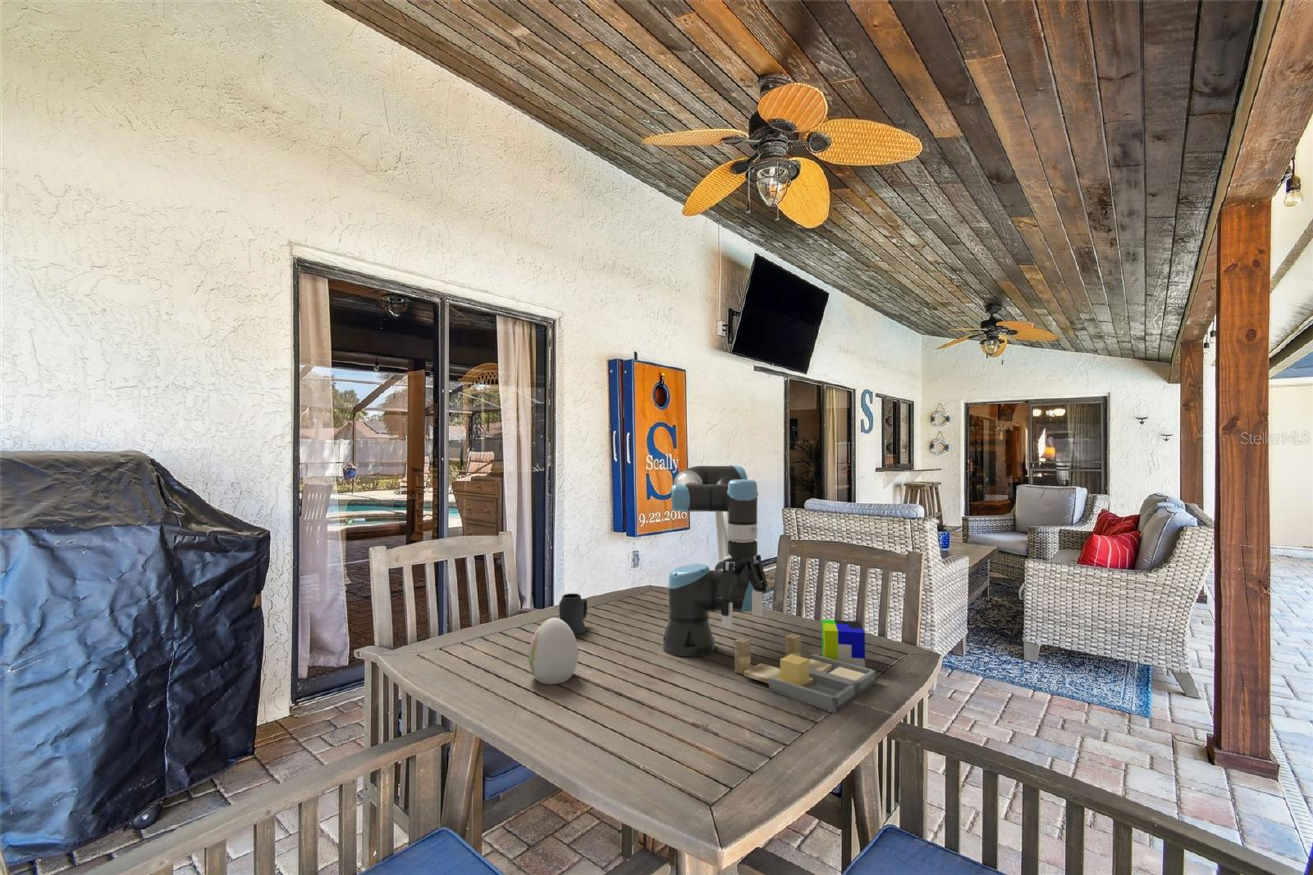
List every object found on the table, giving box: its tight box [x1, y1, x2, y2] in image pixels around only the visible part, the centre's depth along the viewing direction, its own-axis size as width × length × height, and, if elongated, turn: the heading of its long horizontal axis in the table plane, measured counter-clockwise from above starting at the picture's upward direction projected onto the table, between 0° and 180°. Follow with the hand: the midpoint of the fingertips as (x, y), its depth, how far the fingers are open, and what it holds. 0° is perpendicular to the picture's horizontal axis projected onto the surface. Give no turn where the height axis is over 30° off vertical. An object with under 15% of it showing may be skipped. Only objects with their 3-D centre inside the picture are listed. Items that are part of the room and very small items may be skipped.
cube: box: [779, 654, 810, 686], centre depth 142 cm, size 5×5×5 cm
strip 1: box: [734, 636, 814, 687], centre depth 146 cm, size 19×8×8 cm, turn 47°
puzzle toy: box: [821, 619, 866, 668], centre depth 159 cm, size 10×10×10 cm
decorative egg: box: [528, 617, 579, 685], centre depth 148 cm, size 12×12×15 cm
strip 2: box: [784, 633, 832, 672], centre depth 152 cm, size 10×8×8 cm
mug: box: [558, 592, 588, 637], centre depth 187 cm, size 12×9×11 cm
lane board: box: [768, 653, 877, 713], centre depth 143 cm, size 17×22×3 cm
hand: (742, 621), depth 153 cm, fingers open, 13 cm apart
